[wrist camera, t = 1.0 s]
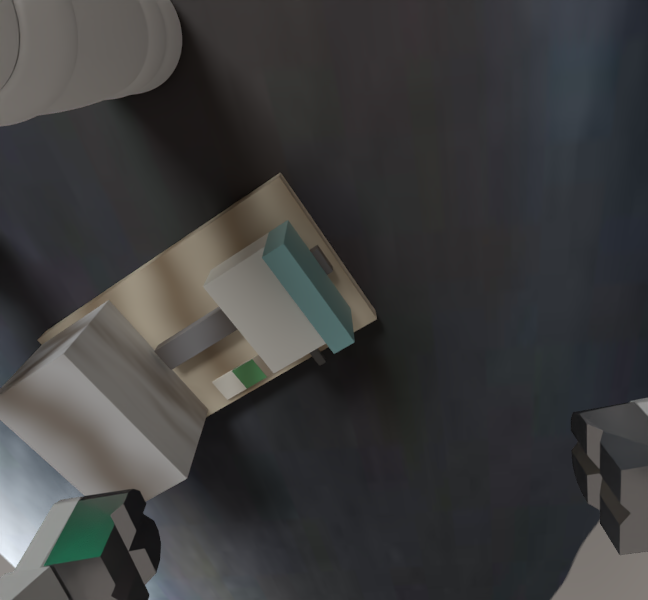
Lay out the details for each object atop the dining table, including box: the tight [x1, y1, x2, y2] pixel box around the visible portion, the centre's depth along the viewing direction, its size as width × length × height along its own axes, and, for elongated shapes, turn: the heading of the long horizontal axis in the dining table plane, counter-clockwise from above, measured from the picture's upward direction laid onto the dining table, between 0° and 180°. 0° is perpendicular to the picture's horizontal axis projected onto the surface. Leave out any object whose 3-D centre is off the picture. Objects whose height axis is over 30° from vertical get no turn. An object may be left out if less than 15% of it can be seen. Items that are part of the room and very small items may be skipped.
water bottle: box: [0, 0, 182, 126], centre depth 24 cm, size 7×7×25 cm
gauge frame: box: [0, 172, 377, 501], centre depth 39 cm, size 23×13×10 cm, turn 123°
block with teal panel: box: [203, 220, 355, 373], centre depth 37 cm, size 7×10×5 cm, turn 33°
